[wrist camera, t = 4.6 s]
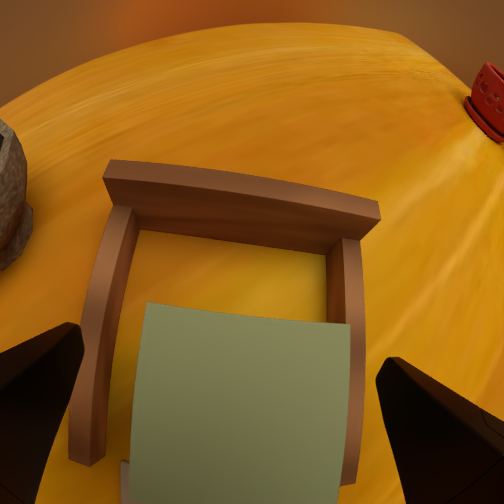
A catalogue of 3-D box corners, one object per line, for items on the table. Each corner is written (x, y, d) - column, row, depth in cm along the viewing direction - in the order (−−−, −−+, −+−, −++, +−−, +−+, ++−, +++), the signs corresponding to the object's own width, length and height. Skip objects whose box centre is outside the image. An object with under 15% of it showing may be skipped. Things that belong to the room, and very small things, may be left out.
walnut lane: (335, 471, 13) (380, 496, 8) (86, 449, 11) (45, 470, 6) (341, 241, 19) (377, 201, 15) (127, 210, 17) (110, 159, 13)
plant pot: (452, 90, 40) (478, 51, 29) (493, 123, 40) (520, 90, 29) (467, 123, 34) (502, 78, 24) (511, 161, 34) (545, 124, 24)
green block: (257, 434, 13) (336, 505, 4) (173, 426, 13) (129, 498, 4) (263, 357, 15) (350, 324, 6) (181, 347, 15) (146, 301, 6)
